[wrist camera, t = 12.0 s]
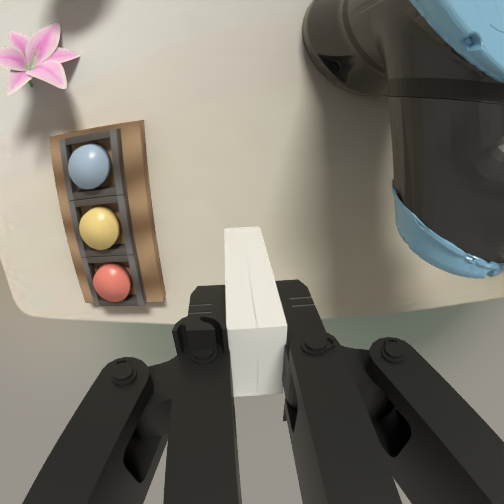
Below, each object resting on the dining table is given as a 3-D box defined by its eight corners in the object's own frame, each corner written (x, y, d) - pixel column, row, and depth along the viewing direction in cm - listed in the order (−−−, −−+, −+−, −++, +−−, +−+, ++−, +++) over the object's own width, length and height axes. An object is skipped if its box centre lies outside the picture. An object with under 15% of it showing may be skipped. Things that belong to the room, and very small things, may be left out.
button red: (92, 263, 37) (88, 269, 36) (127, 261, 37) (124, 267, 36) (101, 295, 39) (98, 302, 38) (135, 295, 39) (132, 301, 38)
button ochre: (80, 208, 34) (75, 212, 32) (117, 204, 34) (113, 208, 32) (88, 245, 36) (84, 251, 34) (124, 243, 36) (120, 248, 35)
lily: (87, 104, 32) (80, 67, 23) (3, 134, 27) (-24, 106, 18) (79, 35, 30) (76, -9, 21) (2, 61, 26) (-16, 24, 17)
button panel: (56, 135, 32) (43, 139, 29) (143, 120, 32) (135, 121, 29) (90, 295, 42) (82, 308, 39) (165, 293, 43) (161, 308, 40)
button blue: (71, 147, 30) (65, 149, 29) (109, 140, 31) (104, 142, 29) (77, 188, 32) (71, 191, 31) (114, 183, 33) (109, 186, 31)
